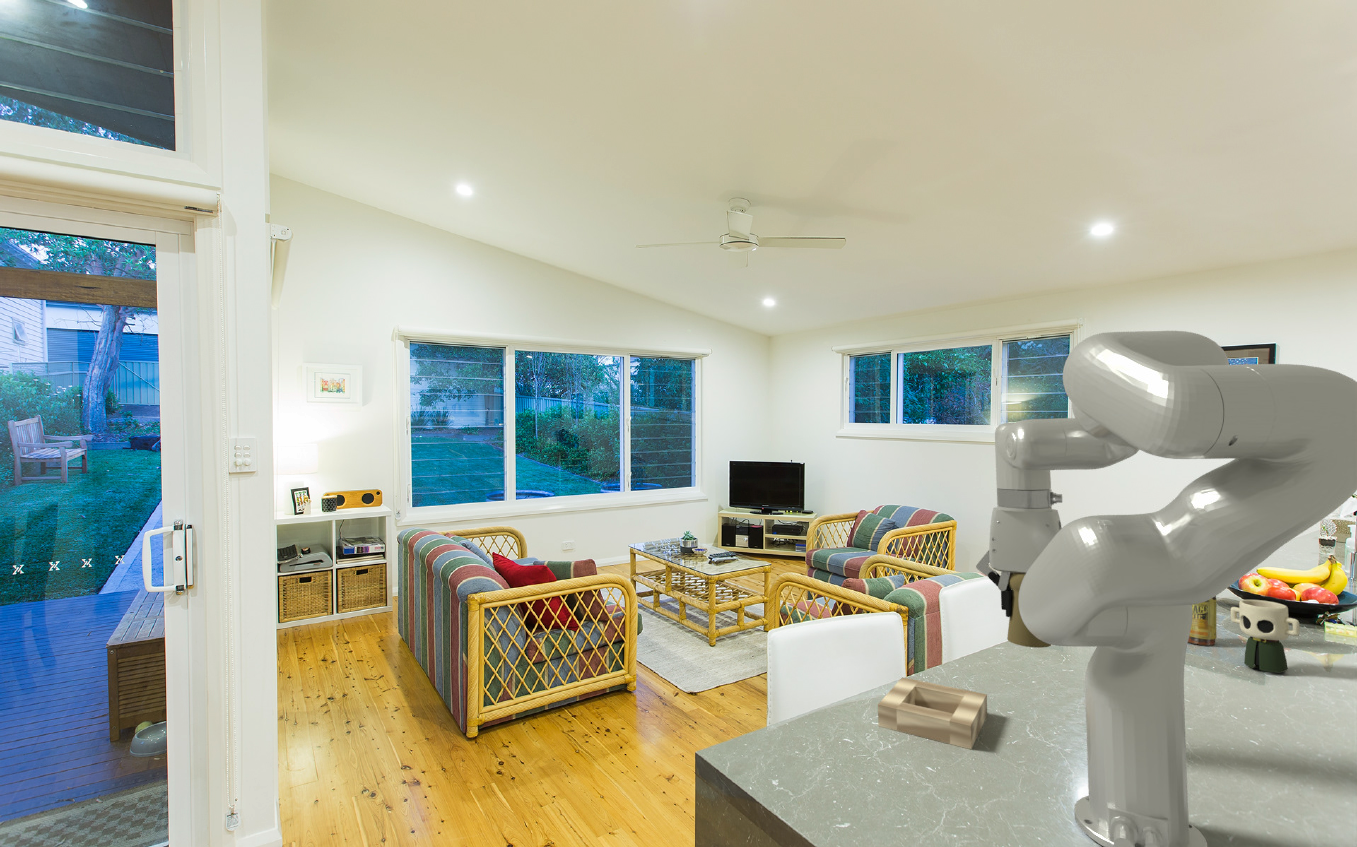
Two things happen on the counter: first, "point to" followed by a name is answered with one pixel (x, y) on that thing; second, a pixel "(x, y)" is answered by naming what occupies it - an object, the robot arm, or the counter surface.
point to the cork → (1016, 625)
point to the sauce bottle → (1204, 623)
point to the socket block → (934, 712)
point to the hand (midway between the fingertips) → (1028, 616)
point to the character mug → (1265, 633)
